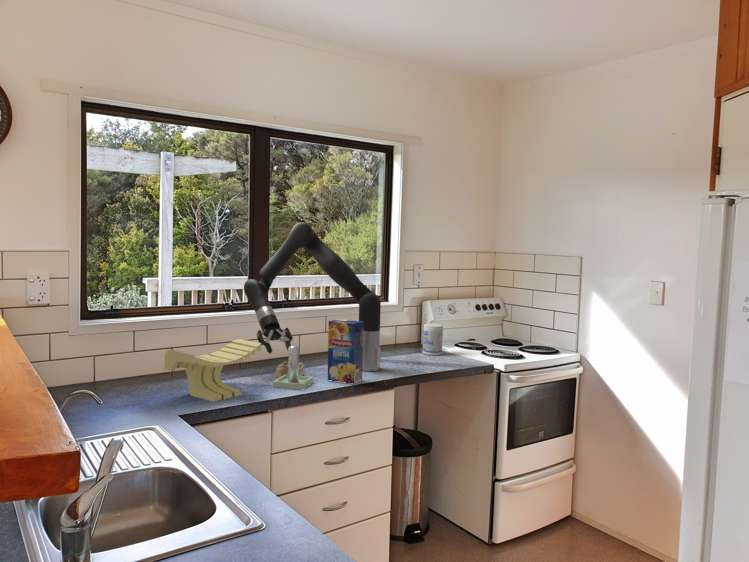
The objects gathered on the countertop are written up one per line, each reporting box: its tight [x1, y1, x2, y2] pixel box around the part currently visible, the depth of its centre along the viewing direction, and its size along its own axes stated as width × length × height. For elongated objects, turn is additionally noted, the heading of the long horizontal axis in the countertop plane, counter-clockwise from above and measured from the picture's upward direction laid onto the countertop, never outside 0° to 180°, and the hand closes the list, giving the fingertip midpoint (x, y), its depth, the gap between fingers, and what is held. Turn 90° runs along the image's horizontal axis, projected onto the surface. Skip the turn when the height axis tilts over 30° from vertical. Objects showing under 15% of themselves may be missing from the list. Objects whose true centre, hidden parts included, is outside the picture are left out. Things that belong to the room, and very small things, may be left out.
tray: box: [272, 375, 314, 390], centre depth 238 cm, size 12×12×2 cm
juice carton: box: [327, 318, 364, 385], centre depth 246 cm, size 12×8×24 cm, turn 65°
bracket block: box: [275, 361, 305, 379], centre depth 251 cm, size 9×9×5 cm
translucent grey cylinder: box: [288, 344, 300, 383], centre depth 238 cm, size 4×4×14 cm
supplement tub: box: [422, 323, 444, 357], centre depth 305 cm, size 10×10×15 cm
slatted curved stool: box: [164, 338, 262, 402], centre depth 222 cm, size 30×16×18 cm, turn 141°
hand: (280, 351), depth 248 cm, fingers open, 8 cm apart
